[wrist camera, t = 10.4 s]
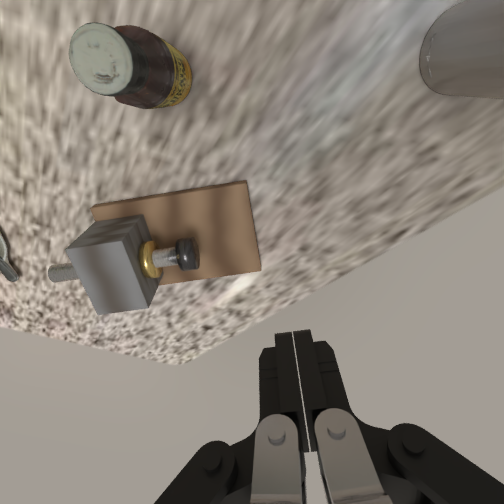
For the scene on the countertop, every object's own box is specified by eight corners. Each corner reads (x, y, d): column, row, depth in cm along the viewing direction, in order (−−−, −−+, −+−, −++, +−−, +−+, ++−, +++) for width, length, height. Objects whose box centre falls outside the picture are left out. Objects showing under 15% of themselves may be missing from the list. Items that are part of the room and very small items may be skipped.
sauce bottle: (179, 115, 40) (125, 142, 22) (133, 84, 38) (34, 87, 21) (204, 64, 37) (165, 49, 20) (156, 29, 35) (65, -21, 18)
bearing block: (246, 180, 44) (245, 205, 35) (260, 265, 50) (263, 304, 41) (94, 204, 45) (57, 234, 36) (128, 284, 52) (103, 326, 43)
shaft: (193, 228, 43) (187, 245, 39) (202, 259, 46) (197, 278, 41) (55, 249, 45) (34, 268, 40) (71, 278, 47) (52, 299, 43)
